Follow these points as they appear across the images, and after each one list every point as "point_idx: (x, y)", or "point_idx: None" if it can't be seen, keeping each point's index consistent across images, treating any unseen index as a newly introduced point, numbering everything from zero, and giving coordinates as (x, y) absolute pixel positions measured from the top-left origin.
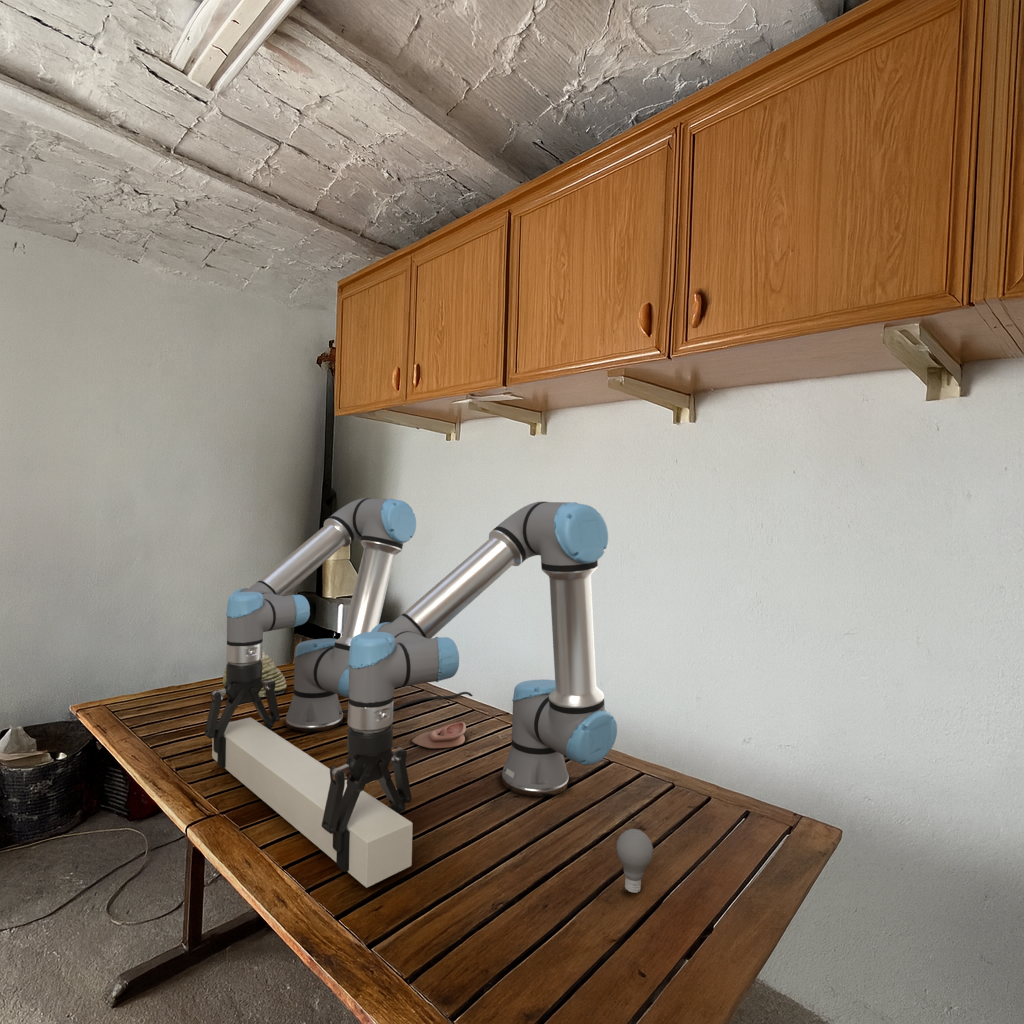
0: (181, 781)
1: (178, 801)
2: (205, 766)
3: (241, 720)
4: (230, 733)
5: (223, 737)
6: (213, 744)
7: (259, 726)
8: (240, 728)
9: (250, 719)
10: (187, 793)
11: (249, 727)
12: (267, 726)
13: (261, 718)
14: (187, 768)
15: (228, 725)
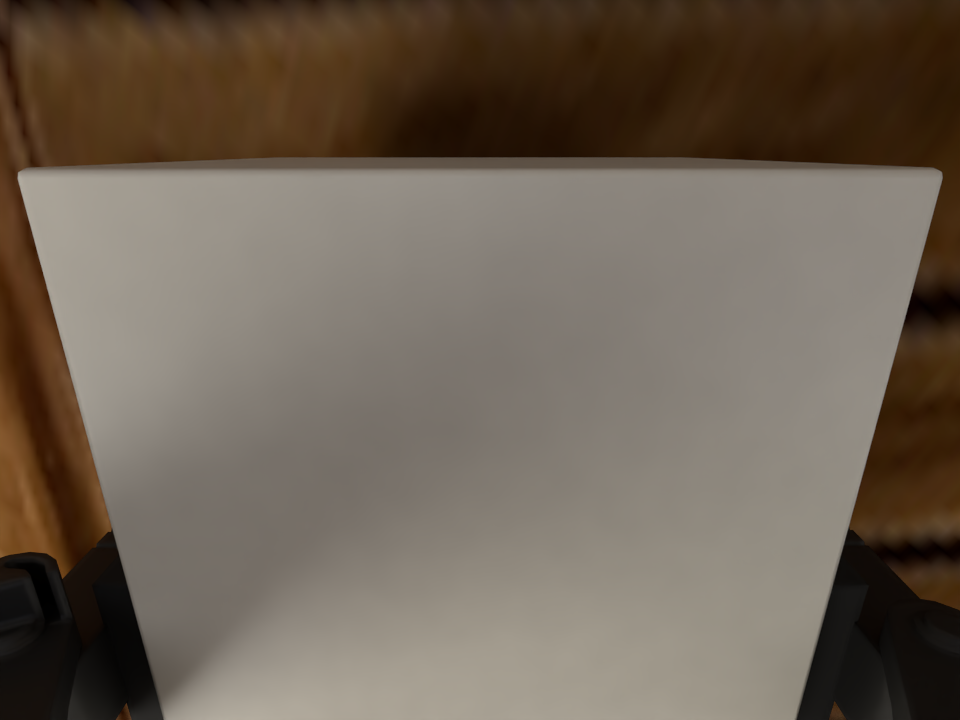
0: (38, 276)
1: (4, 553)
2: (264, 89)
3: (674, 251)
4: (255, 710)
5: (156, 696)
6: (90, 552)
7: (733, 711)
8: (462, 620)
9: (843, 320)
10: (65, 486)
11: (595, 666)
12: (843, 700)
13: (903, 712)
14: (108, 22)
15: (332, 365)
